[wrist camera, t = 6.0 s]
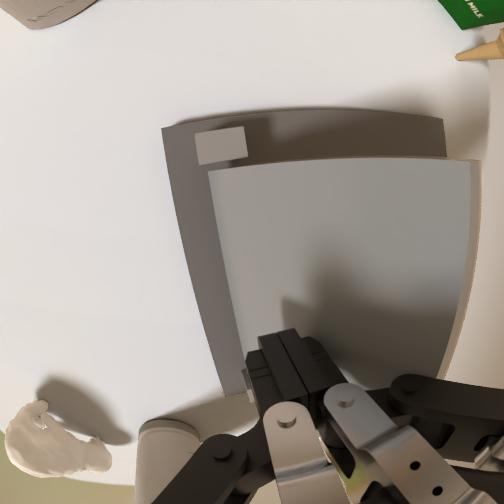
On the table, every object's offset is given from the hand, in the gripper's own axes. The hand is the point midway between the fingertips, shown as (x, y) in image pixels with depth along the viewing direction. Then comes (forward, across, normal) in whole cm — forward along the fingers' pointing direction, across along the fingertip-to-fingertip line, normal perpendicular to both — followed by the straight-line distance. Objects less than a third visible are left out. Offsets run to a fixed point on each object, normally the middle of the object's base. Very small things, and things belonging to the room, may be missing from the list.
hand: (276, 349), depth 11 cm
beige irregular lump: (+9, +22, +14) cm, 28 cm away
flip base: (+8, -8, 0) cm, 11 cm away
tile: (+6, 0, 0) cm, 6 cm away
